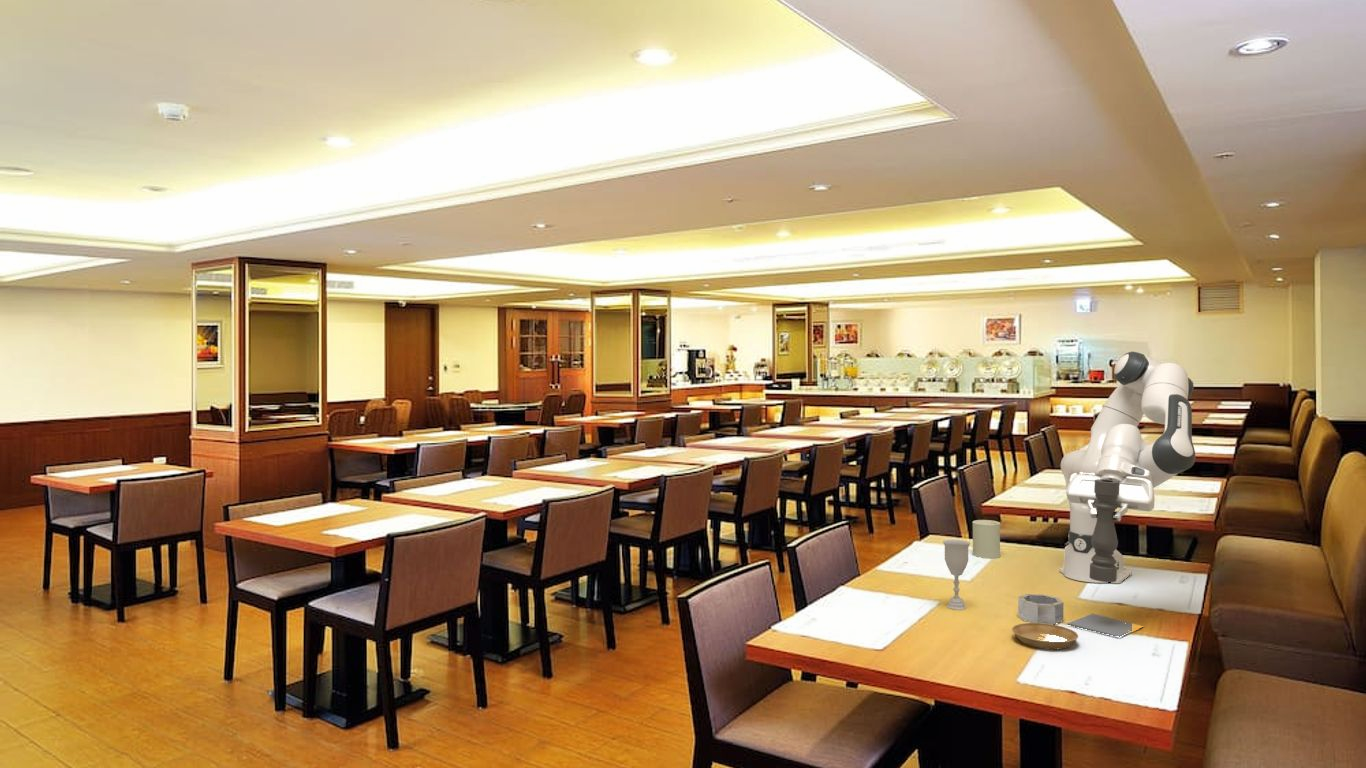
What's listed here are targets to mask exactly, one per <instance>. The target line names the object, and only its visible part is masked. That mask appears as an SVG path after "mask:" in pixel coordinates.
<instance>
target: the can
mask: <svg viewBox="0 0 1366 768" xmlns="http://www.w3.org/2000/svg"><path fill="white" fill-rule="evenodd" d="M971 555H972V556H973V555H974V557H975V556H976V557H977V558H979V557H981V558H980V559H998V558H1000V557H1002V556H1001V522H999V521H998V520H997V521H996V520H990V519H977V520H973V521H972V553H971Z"/></svg>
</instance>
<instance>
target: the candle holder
mask: <svg viewBox="0 0 1366 768" xmlns="http://www.w3.org/2000/svg"><path fill="white" fill-rule="evenodd" d="M1119 486H1120V482H1119V481H1115V480H1107V479H1096V480H1095V485H1094V493H1095V496H1096V498H1097V500H1098V502H1097V503H1095V507H1097V522H1096V526H1095V529H1094V532H1093V536H1092V539H1091V544H1092V546H1093V548H1094V549H1095V551H1094V552H1095V553H1096V554H1095V555H1094V556H1093V557H1092V559H1091V560H1092V562H1093V563H1091V564H1090V578H1091V579H1093V580H1097V581H1102V582H1115V581H1116V580H1117V567H1116V566H1115V564H1116V560H1115V559H1114V557H1113V556H1112V555H1113V554H1114V551H1115V550H1117V549H1118V546H1119V539H1118V536H1117V531H1116V526H1115V520H1114V519H1113V515H1114V511H1116V510H1117V509H1118V508H1117V507H1118V506H1117V505H1116V504H1115V501H1116V499H1117V498H1118V495H1119Z"/></svg>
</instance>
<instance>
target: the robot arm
mask: <svg viewBox="0 0 1366 768" xmlns="http://www.w3.org/2000/svg"><path fill="white" fill-rule="evenodd" d="M1113 378H1114V379H1115V380H1116V381H1117V382H1118V383H1119V385H1117V387H1116V388H1115V389H1114V391H1112V393H1111V394H1110V395H1109V397H1108V398H1107V400H1106V401H1105V403H1104V404H1103V406H1102V408H1101V410H1100V412H1099V413H1098V416H1097V417H1096V418H1095V421H1094V423H1093V424H1092V426H1091V427H1090V439H1089V444H1088V446H1087V448H1086V450H1084V449H1079V450H1073V451H1070V452H1067V453H1066V454H1065V455H1063V457H1062V459H1061V462H1060V470H1061V473H1062V474H1063V477H1064V480H1065V487H1066V492H1065V493H1066V498H1067V500H1068V503H1069V530H1068V535H1067V536H1068V545H1066V546H1065V547H1064V554H1063V565H1062V567H1060V568H1059V573H1061V574H1063V575H1064V576H1065V577H1067V578H1068V579H1071V580H1074V581H1079V582H1086V583H1097V584H1100V583H1101V584H1102V583H1103V584H1104V583H1105V584H1106V583H1107V584H1108V582H1102V581H1097V580H1093V579H1091V578H1090V564H1091V563H1093V562H1092V560H1091V559H1092V557H1093V556H1094V555H1095V554H1096V553H1095V552H1094V551H1095V549H1094V548H1093V546H1092V544H1091V539H1092V536H1093V532H1094V529H1095V526H1096V522H1097V507H1095V503H1097V502H1098V500H1097V498H1096V496H1095V493H1094V485H1095V480H1096V479H1107V480H1115V481H1119V482H1120V486H1119V495H1118V498H1117V499H1116V501H1115V504H1116V505H1117V506H1118V507H1117V509H1119V510H1115V511H1114V515H1113V519H1114V522H1121V520H1122V517H1123V516H1124V515H1125V514H1126V513H1128V511H1129V510H1134V511H1140V512H1141V511H1142V512H1152V510H1154V508H1155V502H1156V501H1155V491H1154V488H1156V487H1158V486H1160V485H1161V484H1164V483H1165V482H1167V481H1168V480H1171V479H1172V478H1173V477H1175V476H1176V475H1178V474H1180V473H1182V472H1185V471H1187V470H1189V469H1191V468H1192V467H1193V466H1194V464H1195V462H1196V450H1195V446H1194V444H1193V437H1192V436H1193V435H1192V433H1193V432H1192V431H1193V428H1192V427H1193V426H1192V425H1193V424H1192V423H1193V418H1192V417H1193V412H1192V406H1191V403H1190V401H1189V399H1190V398H1191V396H1192V394H1193V392H1194V382H1193V380H1192V379H1191V378H1190V377H1189V375H1188V372H1187V371H1186V369H1185V368H1184V367H1183V366H1181V365H1179V364H1178V363H1175V362H1160V360H1159V361H1158V360H1156V359H1153V358H1152V357H1149V356H1146V355H1145V354H1144V353H1141V352H1139V351H1138V352H1137V351H1129V352H1125V353H1124V354H1123V355H1122V356H1121V357H1120V358H1119V359H1118V360H1117V362H1116V364H1115V366H1114V368H1113ZM1144 416H1145V417H1146V418H1147V419H1148V420H1150V421H1152V422H1154V423H1157V424H1159V425H1164V431H1163V433H1162V435H1160V436H1159V437H1158V438H1157V439H1156V440H1155V441H1153V442H1152V443H1150V444H1147V443H1146V442H1145V440H1144V439H1143V437H1142V435H1141V431H1140V429H1139V428H1138V426H1139V425H1140V422H1141V421H1142V419H1143V417H1144ZM1112 556H1113V557H1114V559H1115V560H1116V564H1115V566H1116V567H1117V580H1116V581H1115V582H1111V583H1110V584H1121V583H1123V582H1124V581H1125V580H1126V578H1127V577H1128V576H1129V575H1130V576H1132V575H1133V571H1132V570H1130V569H1127V568H1125V567H1124V556H1123V555H1122V553H1121V552H1120V551H1119V550H1117V549H1116V550H1115V551H1114V554H1113V555H1112ZM1131 574H1132V575H1131ZM1130 576H1129V577H1130ZM1129 577H1128V578H1129ZM1128 578H1127V579H1128ZM1124 579H1125V580H1124ZM1123 580H1124V581H1123ZM1122 581H1123V582H1122Z"/></svg>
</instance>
